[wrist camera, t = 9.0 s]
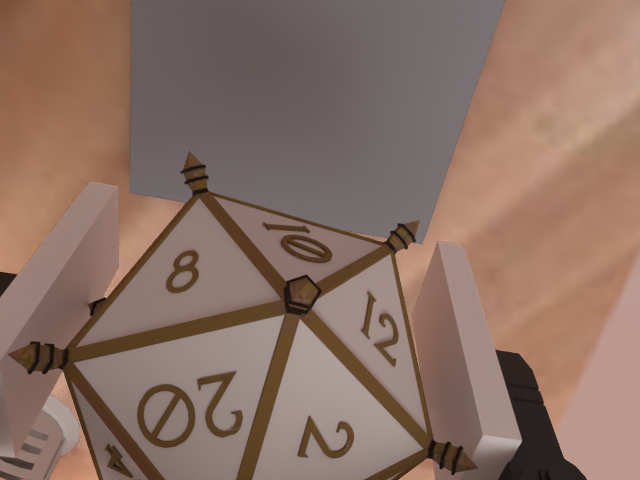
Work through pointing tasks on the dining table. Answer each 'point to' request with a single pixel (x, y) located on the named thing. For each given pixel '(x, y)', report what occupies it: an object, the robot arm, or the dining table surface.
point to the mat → (306, 102)
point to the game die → (251, 354)
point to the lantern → (43, 443)
